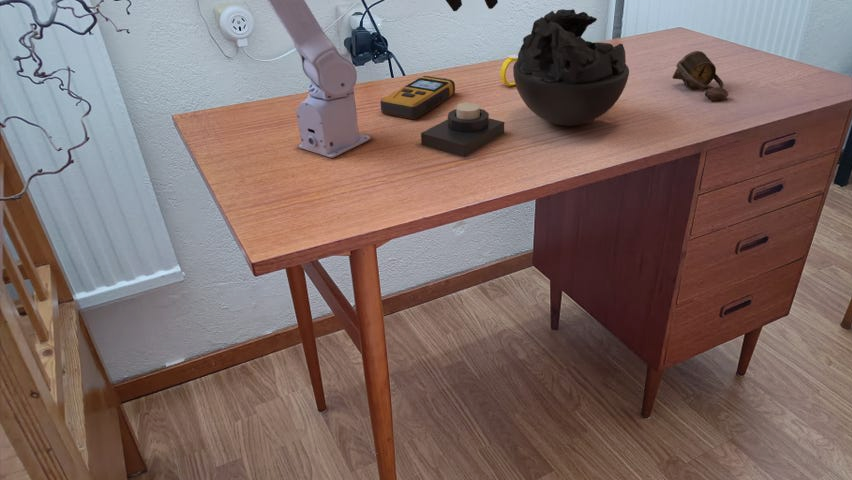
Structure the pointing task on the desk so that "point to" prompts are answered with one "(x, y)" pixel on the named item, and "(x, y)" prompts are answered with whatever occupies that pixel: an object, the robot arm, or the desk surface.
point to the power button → (468, 111)
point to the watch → (504, 67)
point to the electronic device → (418, 97)
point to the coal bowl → (568, 70)
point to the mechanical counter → (700, 75)
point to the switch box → (462, 134)
